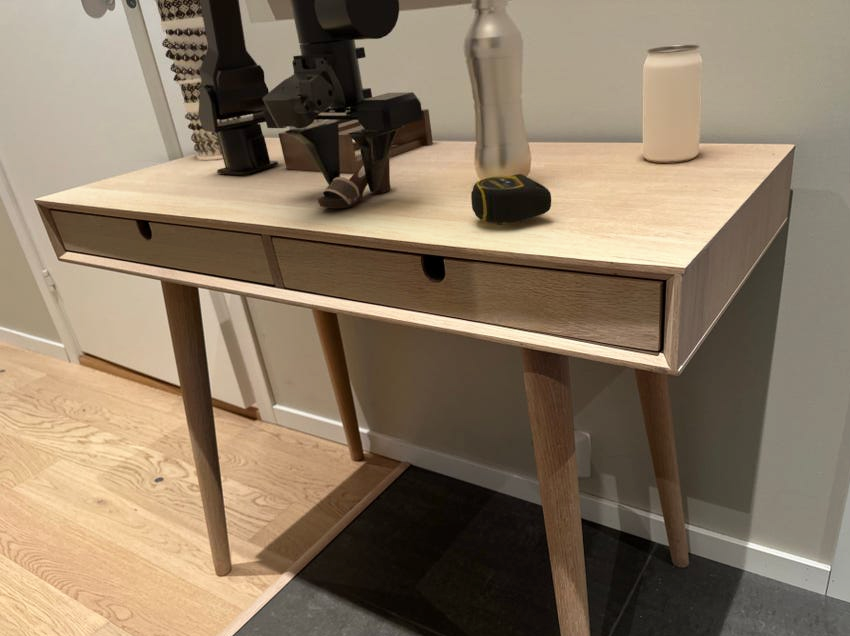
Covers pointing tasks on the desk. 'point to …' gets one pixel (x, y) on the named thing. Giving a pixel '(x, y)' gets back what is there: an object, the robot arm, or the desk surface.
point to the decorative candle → (189, 65)
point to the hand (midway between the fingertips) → (354, 189)
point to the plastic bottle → (497, 91)
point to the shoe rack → (355, 145)
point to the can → (672, 103)
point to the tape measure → (509, 199)
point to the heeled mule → (351, 189)
